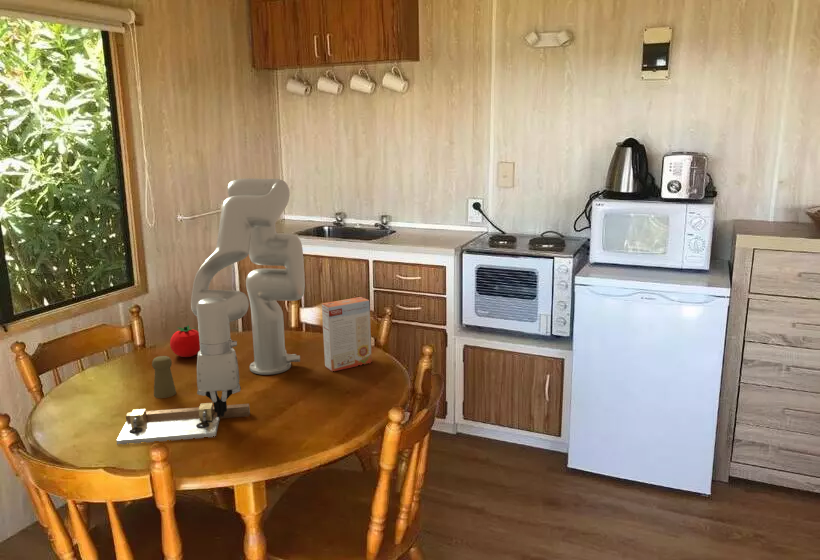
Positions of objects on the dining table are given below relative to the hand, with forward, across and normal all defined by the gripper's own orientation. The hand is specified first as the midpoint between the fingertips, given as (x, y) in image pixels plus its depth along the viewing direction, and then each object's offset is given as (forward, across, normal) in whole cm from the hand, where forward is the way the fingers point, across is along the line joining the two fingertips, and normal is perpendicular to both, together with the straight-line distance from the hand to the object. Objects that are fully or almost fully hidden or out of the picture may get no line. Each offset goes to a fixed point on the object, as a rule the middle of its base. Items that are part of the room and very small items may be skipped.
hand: (221, 414), depth 176 cm
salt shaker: (+2, +18, -22) cm, 28 cm away
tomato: (+2, +15, -53) cm, 55 cm away
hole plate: (+2, +8, +1) cm, 9 cm away
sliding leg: (+1, +4, +1) cm, 4 cm away
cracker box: (+2, -36, -34) cm, 50 cm away
